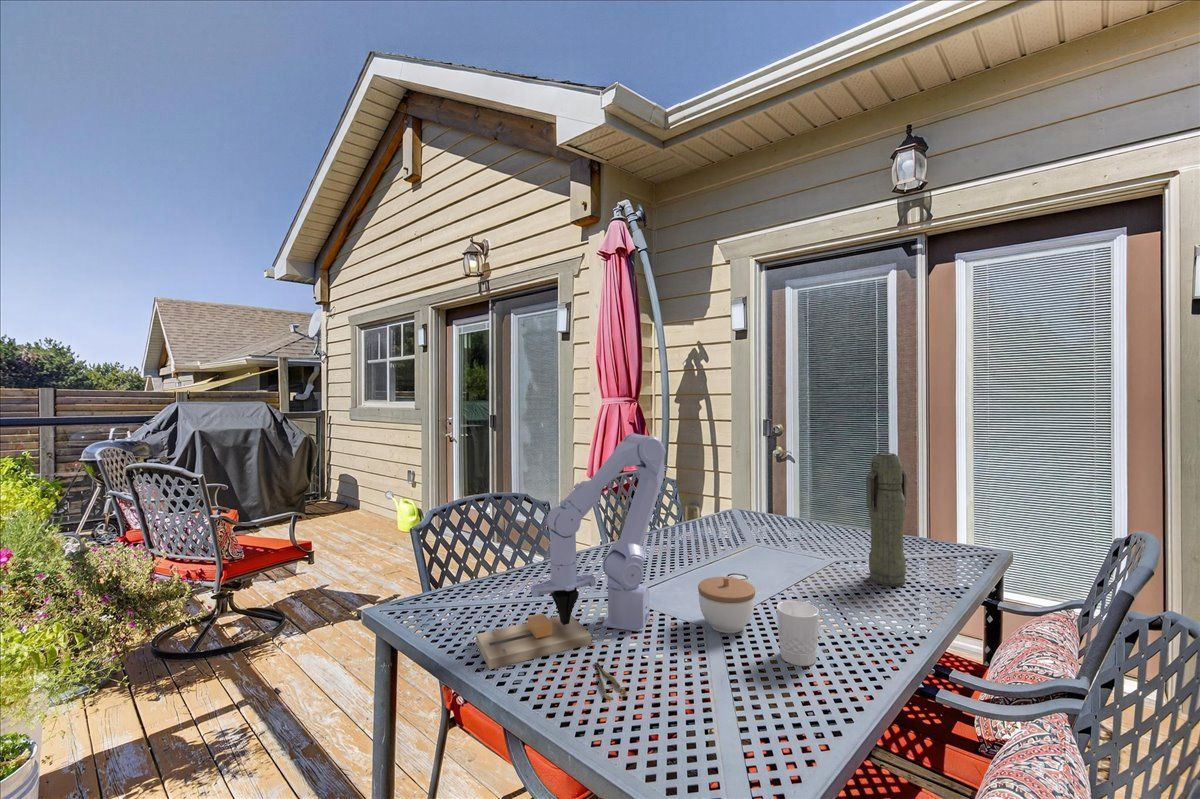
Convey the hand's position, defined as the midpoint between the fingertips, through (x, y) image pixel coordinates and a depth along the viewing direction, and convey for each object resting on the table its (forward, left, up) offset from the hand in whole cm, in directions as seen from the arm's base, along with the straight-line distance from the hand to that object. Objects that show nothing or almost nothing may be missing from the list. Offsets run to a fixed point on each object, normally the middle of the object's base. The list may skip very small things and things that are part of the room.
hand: (564, 622), depth 116 cm
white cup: (-48, -5, -3) cm, 49 cm away
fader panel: (+5, +5, -3) cm, 8 cm away
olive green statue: (-72, -56, -3) cm, 92 cm away
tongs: (-14, +14, -4) cm, 20 cm away
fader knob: (+4, +4, -1) cm, 6 cm away
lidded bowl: (-33, -15, -3) cm, 37 cm away
